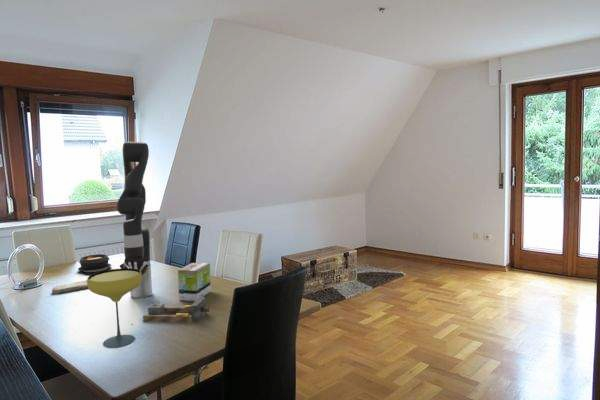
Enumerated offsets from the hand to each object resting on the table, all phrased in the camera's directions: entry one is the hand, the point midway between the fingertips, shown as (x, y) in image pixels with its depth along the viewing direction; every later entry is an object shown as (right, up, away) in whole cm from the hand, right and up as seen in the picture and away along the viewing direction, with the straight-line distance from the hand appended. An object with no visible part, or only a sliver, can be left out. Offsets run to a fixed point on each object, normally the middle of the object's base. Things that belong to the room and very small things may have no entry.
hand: (136, 285), depth 177 cm
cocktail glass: (+3, -16, -23) cm, 28 cm away
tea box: (+18, -11, +27) cm, 35 cm away
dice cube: (+8, -14, +1) cm, 16 cm away
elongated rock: (-44, -11, +48) cm, 66 cm away
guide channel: (+18, -13, -1) cm, 22 cm away
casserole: (-57, -7, +83) cm, 101 cm away
